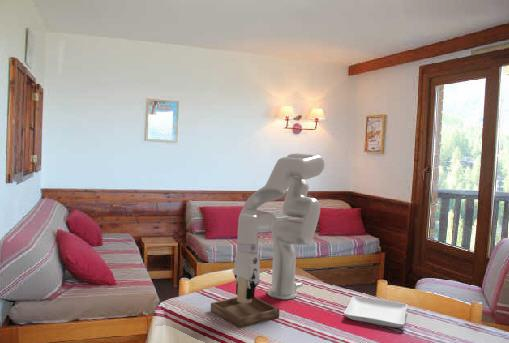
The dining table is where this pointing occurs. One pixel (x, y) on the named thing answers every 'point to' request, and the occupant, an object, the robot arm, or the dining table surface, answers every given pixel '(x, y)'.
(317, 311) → the dining table surface
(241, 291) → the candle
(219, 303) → the walnut tray
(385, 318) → the salad plate
